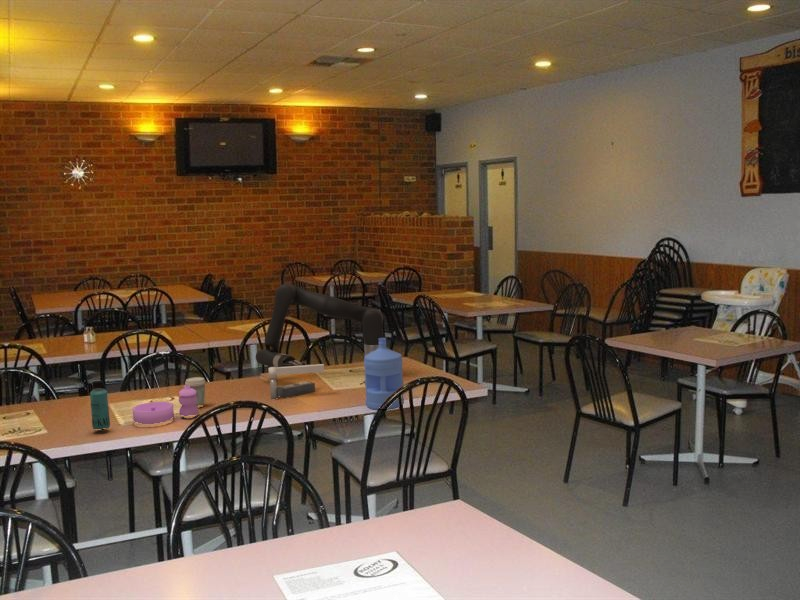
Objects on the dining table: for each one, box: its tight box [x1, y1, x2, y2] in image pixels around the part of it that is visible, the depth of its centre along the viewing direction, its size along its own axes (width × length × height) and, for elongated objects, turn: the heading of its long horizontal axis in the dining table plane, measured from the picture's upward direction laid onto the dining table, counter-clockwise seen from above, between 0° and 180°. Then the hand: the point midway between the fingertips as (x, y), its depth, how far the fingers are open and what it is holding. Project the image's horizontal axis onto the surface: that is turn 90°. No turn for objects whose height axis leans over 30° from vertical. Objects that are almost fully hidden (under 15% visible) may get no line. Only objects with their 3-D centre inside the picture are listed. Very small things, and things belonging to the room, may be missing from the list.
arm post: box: [269, 377, 279, 400], centre depth 342 cm, size 3×3×9 cm
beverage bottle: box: [89, 379, 111, 429], centre depth 301 cm, size 6×7×20 cm
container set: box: [132, 384, 200, 424], centre depth 314 cm, size 25×15×13 cm, turn 112°
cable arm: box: [268, 363, 325, 380], centre depth 342 cm, size 24×4×4 cm, turn 99°
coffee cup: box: [184, 376, 207, 406], centre depth 333 cm, size 8×8×12 cm
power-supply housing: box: [277, 380, 316, 399], centre depth 349 cm, size 16×6×4 cm, turn 129°
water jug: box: [363, 337, 405, 411], centre depth 323 cm, size 16×16×28 cm
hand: (304, 368), depth 344 cm, fingers closed
